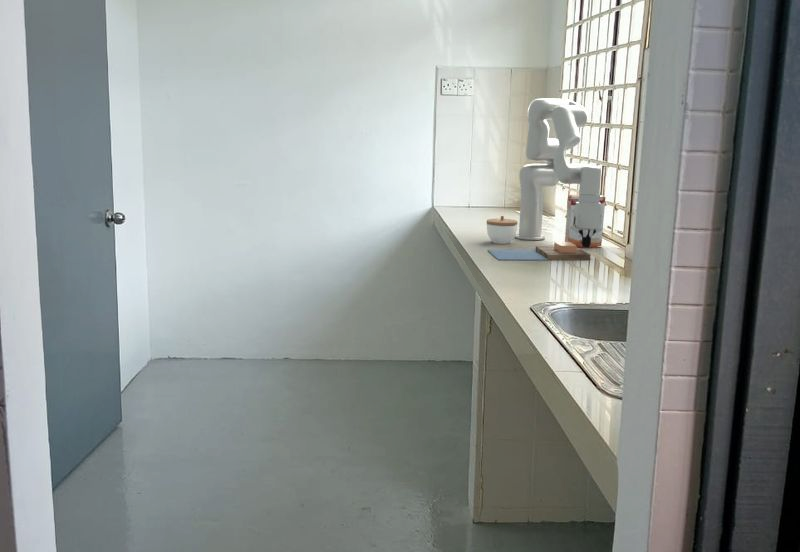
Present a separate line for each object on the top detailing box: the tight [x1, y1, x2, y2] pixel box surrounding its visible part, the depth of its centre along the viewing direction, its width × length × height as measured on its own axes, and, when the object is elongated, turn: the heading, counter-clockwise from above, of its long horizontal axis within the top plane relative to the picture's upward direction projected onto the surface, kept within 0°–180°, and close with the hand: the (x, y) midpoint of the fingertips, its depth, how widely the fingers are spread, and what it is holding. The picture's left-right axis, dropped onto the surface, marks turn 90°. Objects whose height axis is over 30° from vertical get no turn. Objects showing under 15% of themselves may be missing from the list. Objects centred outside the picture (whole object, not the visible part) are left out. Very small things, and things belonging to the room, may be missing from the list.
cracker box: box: [564, 194, 606, 248], centre depth 324 cm, size 14×6×21 cm, turn 92°
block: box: [553, 241, 577, 252], centre depth 304 cm, size 9×6×2 cm, turn 5°
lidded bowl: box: [486, 215, 518, 245], centre depth 331 cm, size 13×13×11 cm
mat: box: [487, 249, 549, 261], centre depth 303 cm, size 20×18×1 cm
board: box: [534, 245, 591, 261], centre depth 304 cm, size 18×16×2 cm
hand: (585, 247), depth 304 cm, fingers closed
